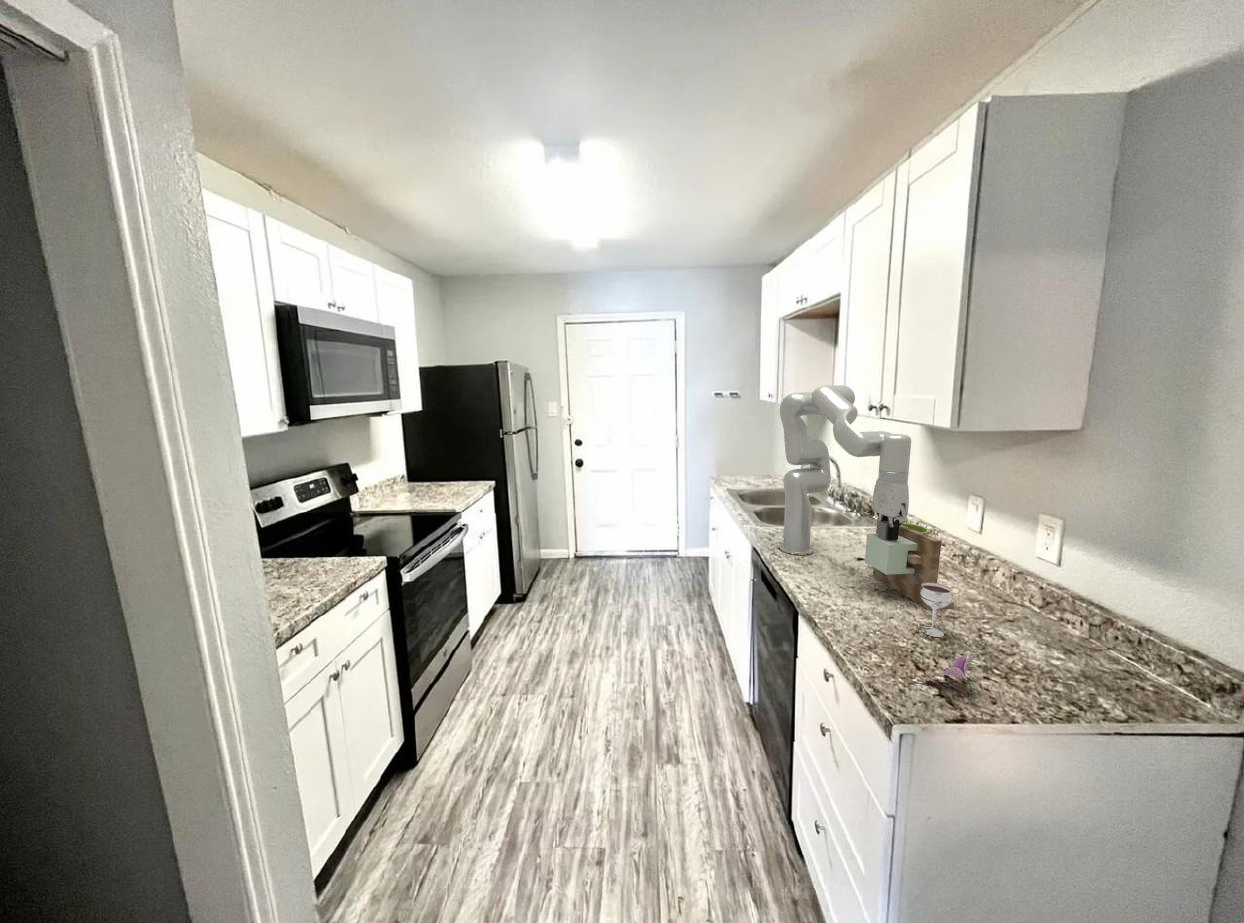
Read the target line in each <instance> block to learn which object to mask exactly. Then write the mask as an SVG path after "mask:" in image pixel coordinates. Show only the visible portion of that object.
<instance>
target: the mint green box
mask: <svg viewBox="0 0 1244 923" xmlns="http://www.w3.org/2000/svg"><path fill="white" fill-rule="evenodd" d="M889 524H890V521H879V529H878V534H876V533H867V534H866V542H865V544H866V545H865V553H864V563H866V564H867V565H868V566H871V567H872V568H873V567H874V568H876V569H878V570H879V571H881V572H883V573H884V574H886V575H889V574H913V573H914V572H915V568H913V567H911V566H909V565H907V555H908V551H914V550H917V545H918V544H917V543H915V542H913V541H910V540H908V539H906V538H904V537H901V536H899V535H898V539H897V540H888V539H887V531H888V526H890V525H889Z"/></svg>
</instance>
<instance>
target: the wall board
mask: <svg viewBox="0 0 1244 923" xmlns="http://www.w3.org/2000/svg"><path fill="white" fill-rule="evenodd" d="M876 517H877V519H876V520H877V521H876V531H875V534H878V529H879V522H878V516H876ZM889 521H890V519H889ZM898 535H899V536H901V537H904V538H906V539H908V540H910V541H913V542H915V543H917V544H918V545H917V550H914V551H908V555H907V565H909V566H911V567H913V568H915V572H914V573H913V574H889V575H886V574H884V573H883V572H881V571H879V570H878V569H876V568H874V567H872V568H873V569H872V577H874V578H876V579H877V580H878V581H880V582H881V583H884V584H885V585H887V586H889V587H890V588H892V589H893V588H894V589H893V590H895V589H896V590H895V591H896V592H898V591H899V593H900V594H901V595H904V596H905V597H906V598H909V599H910V600H912V601H913V602H914V603H916V604H918V605H920V606H921V607H922V608H924V609H927V610H933V609H932V608H931V606H929V605H927V604H926V603H925V602H924V601H923V600H922V599H921V596H920V590H921V589H922V586H921V584H922V583H924V582H934V583H938V579H939V577H938V576H939V569H940V568H939V567H940V559H941V548H942V540H940V539H938V538H935V537H933V536H930V535H928V534H926V535H925V534H923V533H921V532H918V531H916V530H913V529H911V528H908V527H906V526H903V525H901V527H899V534H898ZM954 608H955V602H953V600H952V601H951V603H950V604H949V605H948V606H946V607H944V608H938V609H937V610H940V609H941V610H943V609H954Z"/></svg>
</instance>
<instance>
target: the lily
mask: <svg viewBox="0 0 1244 923" xmlns="http://www.w3.org/2000/svg"><path fill="white" fill-rule="evenodd" d="M981 652H982V650H979V651H978V652H975V653H974V654H971V653H970V654H968V655H967V653H965V654H964V655H962V656H960V657H958V658H956V659H954V660H953V659H952V660H951V659H947V662H948V663H949V664H950V668H947V669H946V670H944V671H943V672H937V673H935V674H933V675H931V676H930V677H929V678H927V679H926V680H925V682H927V681H928V680H930V679H931V678H933V677H936V676H937V675H938V677H939V676H941V675H944V676H951V677H956V678H961V679H963V680H965V681H966V683H967V684H968V686H969V688H970V690H971V691H972V693H973V696H974V698H975V697H976V698H977V699H978V696H977V694H976V692H975V690H974V688H973V687H972V684H971V683H970V682H969V680H968V677H967V674H966V672H967V667H968V664H969V662H970V661H971V659H973V657H975V656H976V655H978V654H980V653H981ZM976 698H975V699H976Z"/></svg>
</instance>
